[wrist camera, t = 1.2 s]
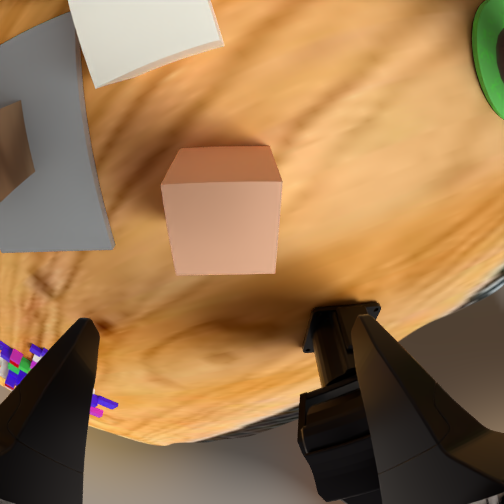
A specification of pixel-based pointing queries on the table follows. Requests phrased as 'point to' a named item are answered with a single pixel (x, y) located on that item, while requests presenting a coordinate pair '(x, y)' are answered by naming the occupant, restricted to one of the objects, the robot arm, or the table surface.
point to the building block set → (19, 367)
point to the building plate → (52, 146)
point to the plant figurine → (490, 52)
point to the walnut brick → (13, 149)
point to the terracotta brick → (223, 210)
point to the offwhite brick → (141, 34)
